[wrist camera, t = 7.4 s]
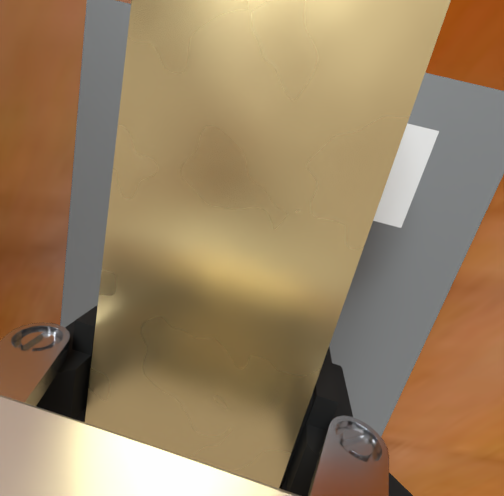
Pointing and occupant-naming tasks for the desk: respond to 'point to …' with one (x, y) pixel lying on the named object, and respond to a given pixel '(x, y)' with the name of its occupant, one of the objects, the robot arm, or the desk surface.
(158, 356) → the tan long bar
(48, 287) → the desk surface
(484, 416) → the desk surface
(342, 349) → the peg plate
